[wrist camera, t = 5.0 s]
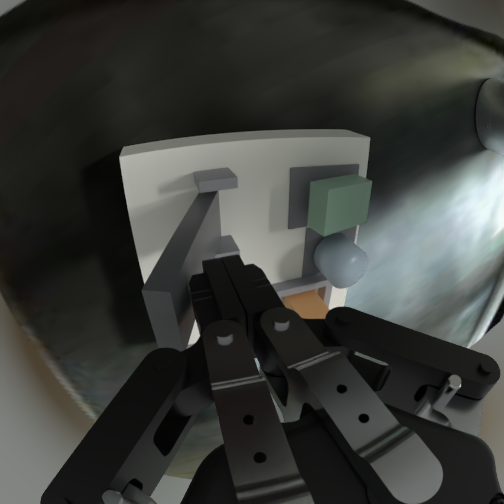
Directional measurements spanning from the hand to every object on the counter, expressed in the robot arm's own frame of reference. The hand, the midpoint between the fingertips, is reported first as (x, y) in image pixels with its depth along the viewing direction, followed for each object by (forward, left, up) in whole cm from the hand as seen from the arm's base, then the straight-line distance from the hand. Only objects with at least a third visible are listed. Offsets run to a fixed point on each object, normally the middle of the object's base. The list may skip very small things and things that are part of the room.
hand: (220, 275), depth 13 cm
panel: (-4, +4, -10) cm, 11 cm away
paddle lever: (-1, 0, -7) cm, 7 cm away
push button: (-10, +4, -7) cm, 12 cm away
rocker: (-9, 0, -7) cm, 11 cm away
